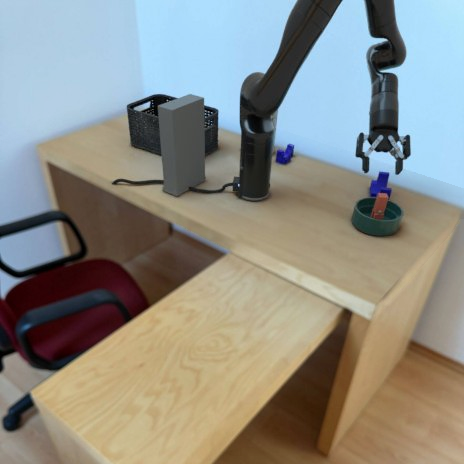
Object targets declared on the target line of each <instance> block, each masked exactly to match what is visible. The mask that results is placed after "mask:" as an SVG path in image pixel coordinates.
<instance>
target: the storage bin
mask: <svg viewBox="0 0 464 464" xmlns="http://www.w3.org/2000/svg"><path fill="white" fill-rule="evenodd" d="M178 98H179V97H176V96H172V95H168V94H163V93H154V94H151V95H149V96H146V97H144V98H141V99H139V100H136V101H133V102H130V103H128V104H126V112H127V120H128V121H127V122H128V130H129V141H130V145H132V146H133V147H136V148H139V149H142V150H145V151H148V152H151V153H154V154H157V155H160V156H162V155H161V142H160V130H159V118H158V106H159V105H161V104H164V103H167V102H169V101H172V100H175V99H178ZM148 103H149V107H146V108H144V109H142V110H137V109H135V108H137V107H140V106H143V105H146V104H148ZM219 112H220V111H219V109H218V108H216V107H212V106H209V105H205V104H204V125H205V157H206V156H208V155H209V154H211V153H212V152H214V151H216V150H218V149H219Z"/></svg>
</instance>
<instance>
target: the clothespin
mask: <svg viewBox="0 0 464 464" xmlns="http://www.w3.org/2000/svg"><path fill="white" fill-rule="evenodd" d="M388 198H389V197H388V196H387V194H386V193H378V194H377V198H376V201H375V205H374V209H373V210H372V213H371V217H370V218H373V219H378V220H383V217H384V211H385V208H386V204H387V201H388ZM389 199H390V198H389Z"/></svg>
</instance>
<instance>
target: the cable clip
mask: <svg viewBox="0 0 464 464" xmlns="http://www.w3.org/2000/svg"><path fill="white" fill-rule="evenodd" d="M389 178H390V172H388V171H378V175H377V179H371V182H370V186H369V197H377V194H378V193H386V194H387V196H388V197H389V198H388V200H390V198H391V195H392V191H393V189H392V188H391V187H388V182H389Z"/></svg>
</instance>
